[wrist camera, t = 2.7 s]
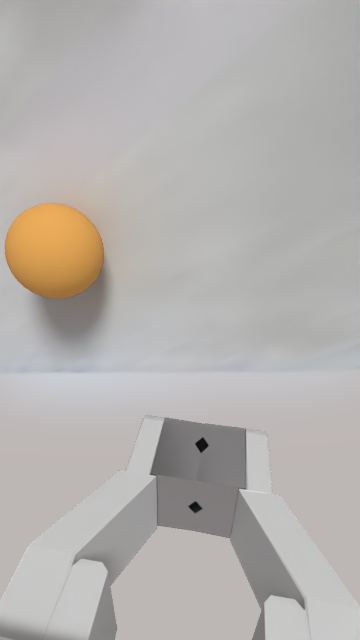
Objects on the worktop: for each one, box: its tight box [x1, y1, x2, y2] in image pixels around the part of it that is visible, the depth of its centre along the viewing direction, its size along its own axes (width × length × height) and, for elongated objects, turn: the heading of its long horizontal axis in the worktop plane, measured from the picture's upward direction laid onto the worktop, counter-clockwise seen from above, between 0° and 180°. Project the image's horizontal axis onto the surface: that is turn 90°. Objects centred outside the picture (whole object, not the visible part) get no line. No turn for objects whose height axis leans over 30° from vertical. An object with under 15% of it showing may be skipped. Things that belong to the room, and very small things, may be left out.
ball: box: [5, 204, 104, 298], centre depth 20 cm, size 6×6×6 cm
